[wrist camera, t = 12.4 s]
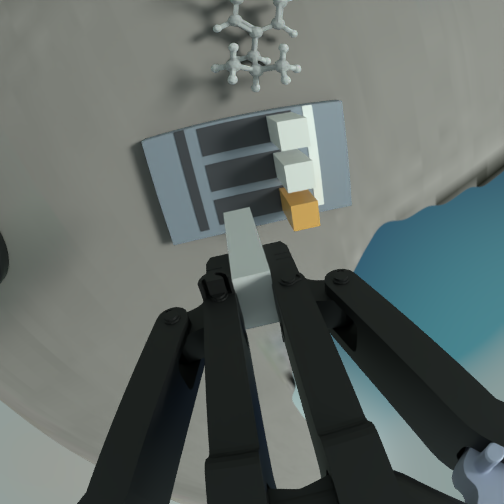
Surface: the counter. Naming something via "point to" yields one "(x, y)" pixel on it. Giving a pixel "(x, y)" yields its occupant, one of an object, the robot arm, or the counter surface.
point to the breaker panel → (249, 166)
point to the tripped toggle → (300, 209)
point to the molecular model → (254, 55)
